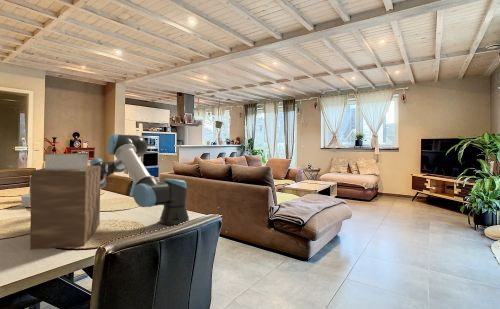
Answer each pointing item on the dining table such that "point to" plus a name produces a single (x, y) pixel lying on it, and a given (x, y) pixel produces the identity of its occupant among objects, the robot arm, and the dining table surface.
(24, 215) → the dining table surface
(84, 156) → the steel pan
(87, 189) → the walnut cabinet
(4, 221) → the dining table surface
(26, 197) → the ramekin
